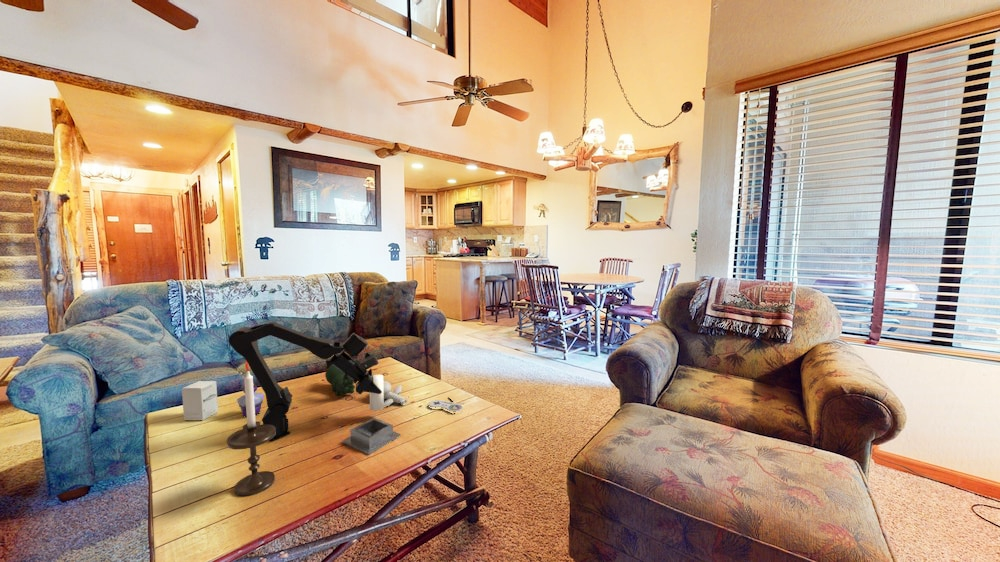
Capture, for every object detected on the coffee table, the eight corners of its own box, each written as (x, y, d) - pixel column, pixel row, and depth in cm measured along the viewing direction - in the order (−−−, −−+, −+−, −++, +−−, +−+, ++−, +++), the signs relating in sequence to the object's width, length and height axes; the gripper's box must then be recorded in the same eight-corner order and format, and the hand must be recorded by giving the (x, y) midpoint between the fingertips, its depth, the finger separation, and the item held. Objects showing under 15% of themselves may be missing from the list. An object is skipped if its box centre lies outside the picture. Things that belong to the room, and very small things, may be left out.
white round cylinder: (375, 411, 131) (375, 380, 130) (367, 408, 133) (366, 377, 132) (386, 406, 135) (386, 376, 134) (377, 403, 138) (377, 373, 136)
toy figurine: (361, 399, 154) (341, 378, 172) (361, 358, 151) (341, 341, 169) (338, 406, 148) (320, 383, 166) (338, 363, 145) (320, 345, 163)
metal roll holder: (368, 455, 111) (368, 441, 110) (342, 442, 117) (342, 430, 117) (400, 436, 122) (400, 424, 121) (375, 426, 128) (374, 414, 128)
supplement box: (203, 421, 131) (200, 388, 130) (183, 421, 131) (180, 388, 130) (219, 412, 138) (216, 380, 137) (200, 411, 139) (198, 380, 137)
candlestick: (264, 497, 92) (256, 366, 88) (220, 499, 91) (210, 367, 87) (286, 471, 102) (279, 353, 99) (246, 472, 102) (239, 354, 98)
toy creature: (393, 405, 139) (356, 388, 147) (396, 418, 142) (359, 401, 150) (414, 384, 149) (378, 369, 157) (416, 397, 152) (380, 382, 160)
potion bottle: (265, 407, 143) (263, 378, 142) (265, 415, 136) (263, 385, 134) (238, 412, 138) (236, 382, 137) (237, 421, 131) (235, 390, 130)
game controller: (425, 408, 143) (425, 404, 143) (443, 396, 155) (443, 392, 155) (457, 416, 137) (457, 411, 137) (473, 403, 149) (473, 399, 148)
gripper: (365, 355, 122) (398, 382, 127) (363, 342, 139) (392, 366, 144) (341, 381, 120) (376, 407, 125) (341, 364, 137) (372, 387, 142)
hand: (380, 390), depth 134 cm, fingers closed on white round cylinder, 5 cm apart
